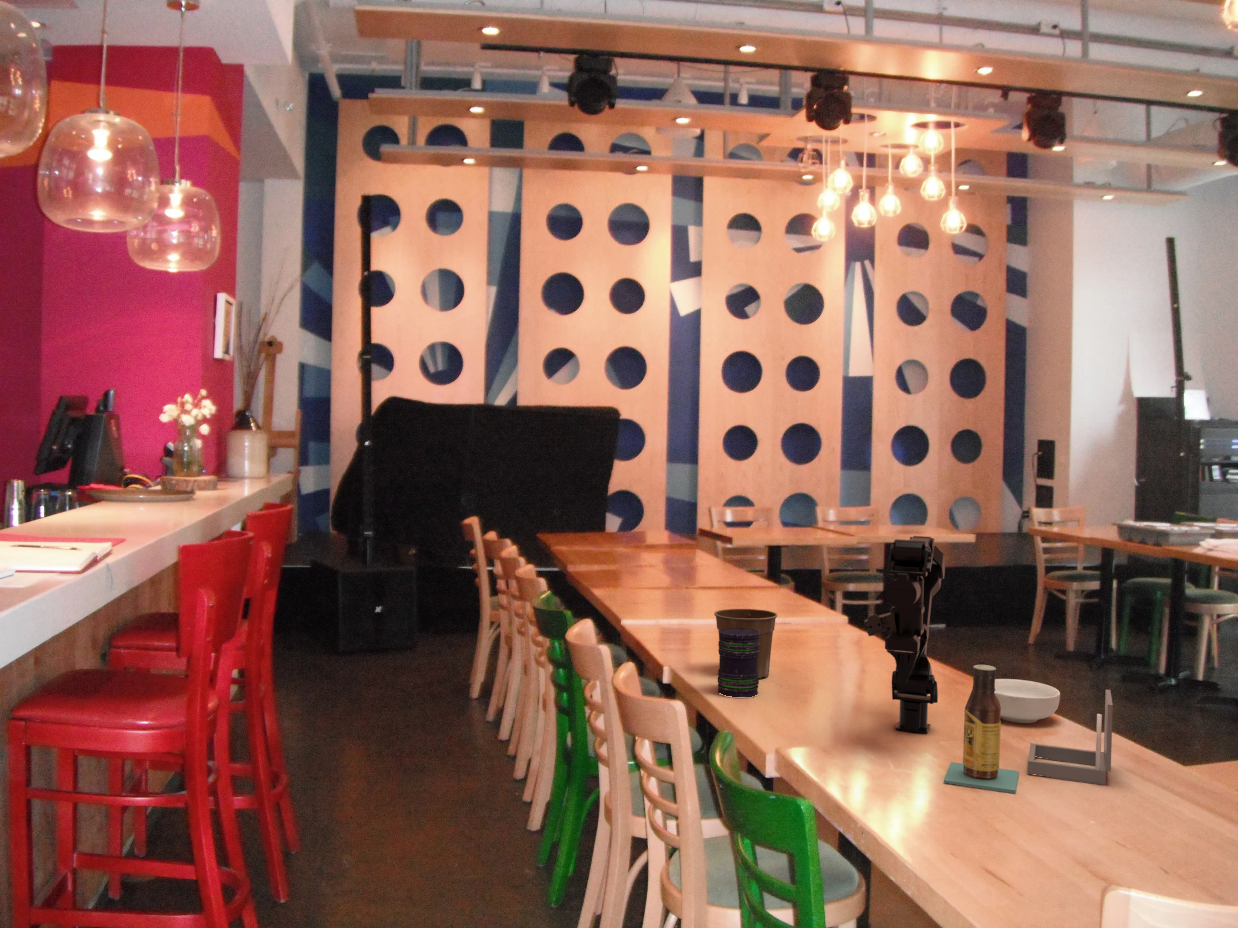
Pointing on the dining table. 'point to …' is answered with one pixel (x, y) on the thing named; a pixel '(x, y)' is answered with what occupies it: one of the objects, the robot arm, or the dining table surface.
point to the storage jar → (738, 662)
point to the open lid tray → (1077, 755)
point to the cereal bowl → (1025, 700)
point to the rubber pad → (1002, 782)
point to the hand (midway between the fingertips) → (906, 679)
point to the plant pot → (755, 621)
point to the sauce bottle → (982, 726)
